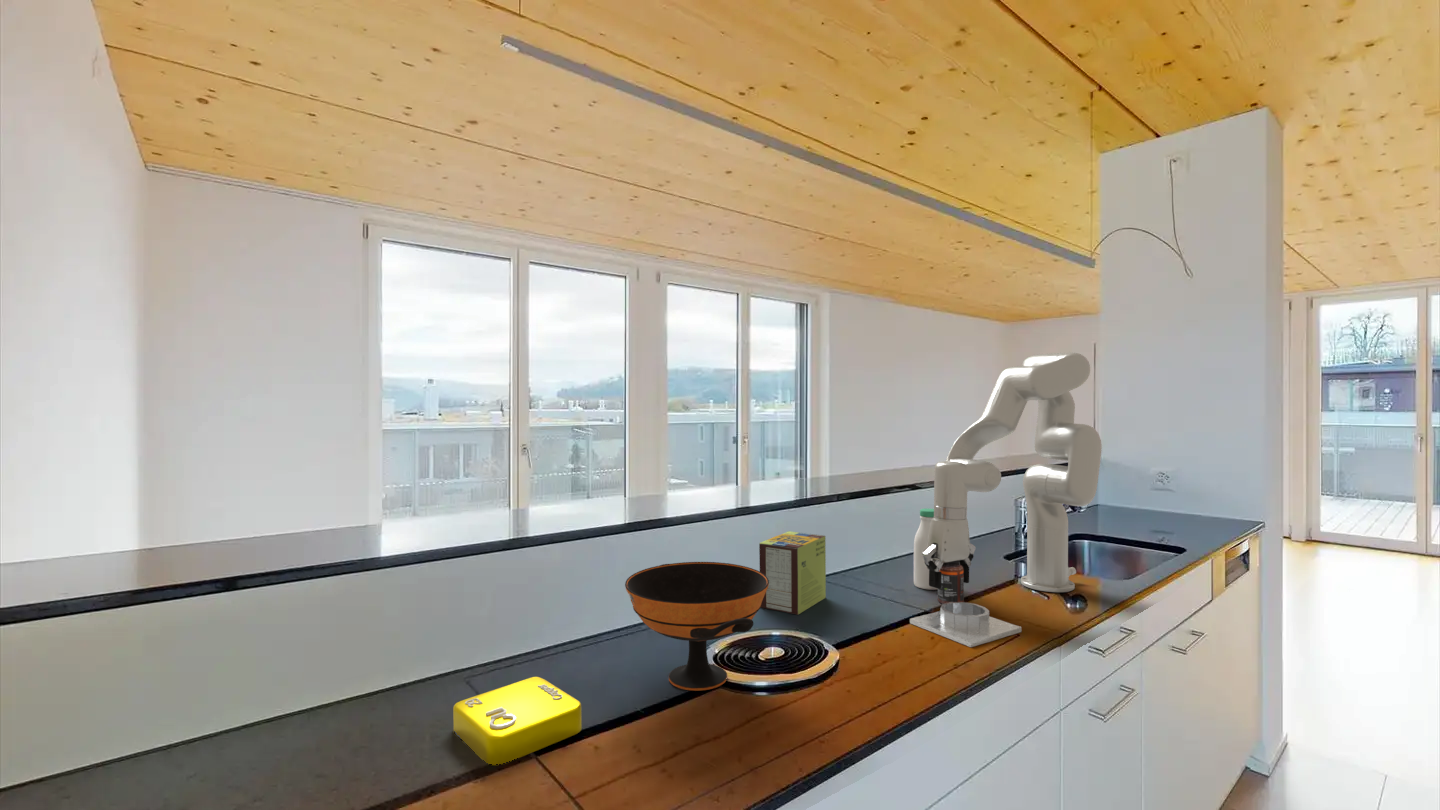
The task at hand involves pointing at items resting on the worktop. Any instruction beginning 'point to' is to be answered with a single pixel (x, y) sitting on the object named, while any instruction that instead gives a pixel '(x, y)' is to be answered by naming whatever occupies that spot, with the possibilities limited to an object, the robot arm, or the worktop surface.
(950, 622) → the duct flange
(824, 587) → the protein box
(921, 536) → the milk bottle
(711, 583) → the greek kylix
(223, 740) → the worktop surface
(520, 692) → the element tile
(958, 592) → the supplement bottle
